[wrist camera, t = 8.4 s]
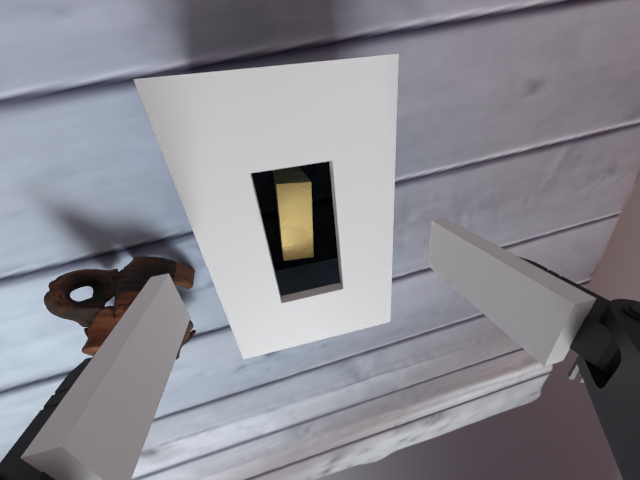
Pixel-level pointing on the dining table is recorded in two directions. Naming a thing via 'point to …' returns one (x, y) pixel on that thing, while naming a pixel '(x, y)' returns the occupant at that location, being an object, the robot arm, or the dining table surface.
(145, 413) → the robot arm
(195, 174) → the coin box
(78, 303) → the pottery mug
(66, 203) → the dining table surface
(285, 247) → the gold metal bar
